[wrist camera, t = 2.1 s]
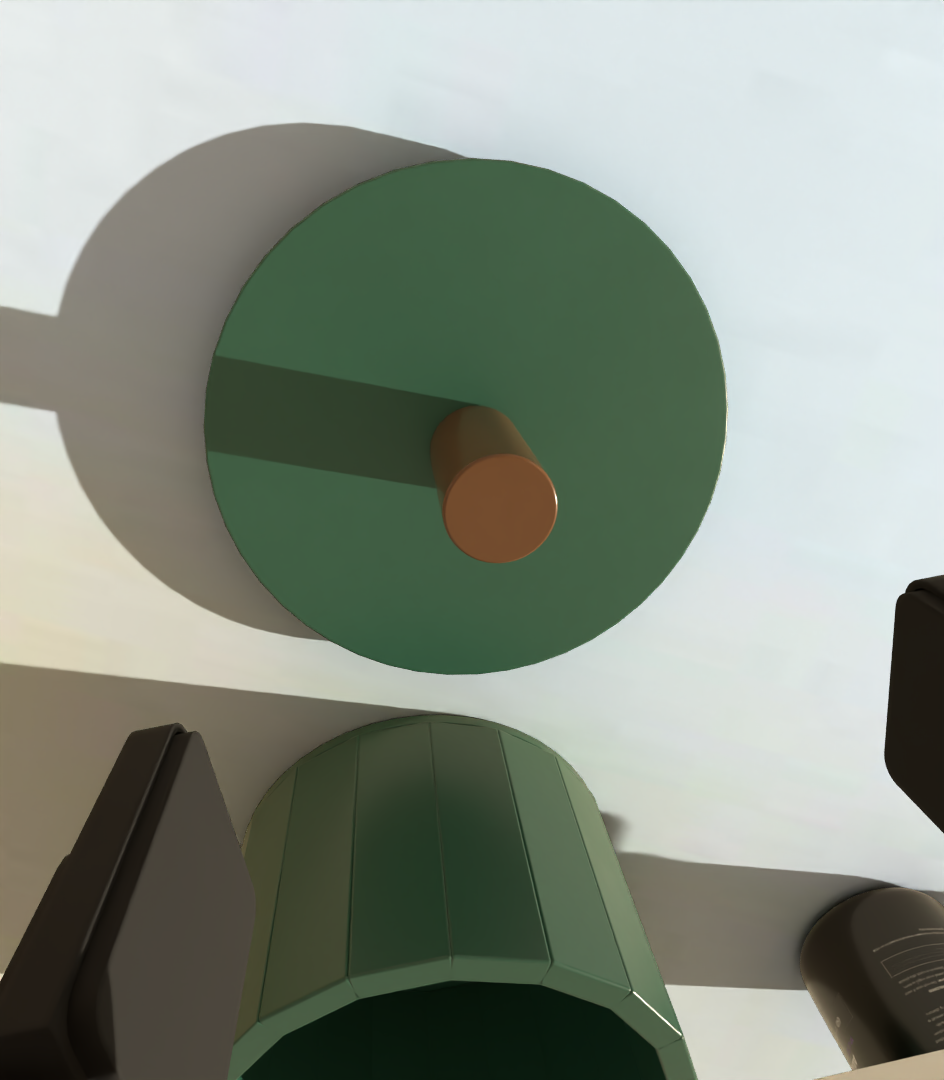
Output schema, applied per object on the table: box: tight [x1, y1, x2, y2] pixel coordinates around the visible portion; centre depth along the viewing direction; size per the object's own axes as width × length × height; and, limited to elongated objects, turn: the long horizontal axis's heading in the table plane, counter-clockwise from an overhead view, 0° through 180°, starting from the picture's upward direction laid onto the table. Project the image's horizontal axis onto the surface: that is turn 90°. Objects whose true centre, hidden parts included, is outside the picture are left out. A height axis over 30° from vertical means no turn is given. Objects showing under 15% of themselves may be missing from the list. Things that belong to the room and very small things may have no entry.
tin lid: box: [204, 158, 728, 675], centre depth 20 cm, size 15×15×6 cm
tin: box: [227, 715, 698, 1080], centre depth 24 cm, size 14×14×10 cm
